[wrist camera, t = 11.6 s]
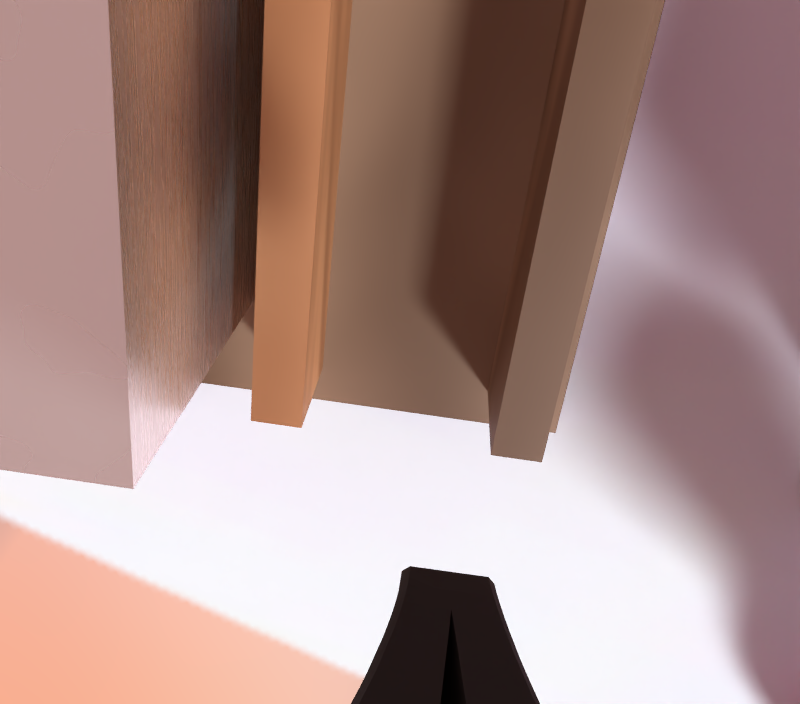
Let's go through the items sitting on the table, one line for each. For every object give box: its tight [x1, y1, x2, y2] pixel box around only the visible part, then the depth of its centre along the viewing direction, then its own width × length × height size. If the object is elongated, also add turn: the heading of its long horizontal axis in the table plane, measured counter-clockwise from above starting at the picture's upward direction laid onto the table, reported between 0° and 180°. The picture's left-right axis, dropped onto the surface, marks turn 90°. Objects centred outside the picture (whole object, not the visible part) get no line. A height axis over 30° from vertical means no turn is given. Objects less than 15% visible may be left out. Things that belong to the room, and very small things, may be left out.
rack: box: [201, 0, 665, 462], centre depth 17 cm, size 20×14×4 cm
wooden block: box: [0, 0, 263, 489], centre depth 14 cm, size 9×3×8 cm, turn 173°
